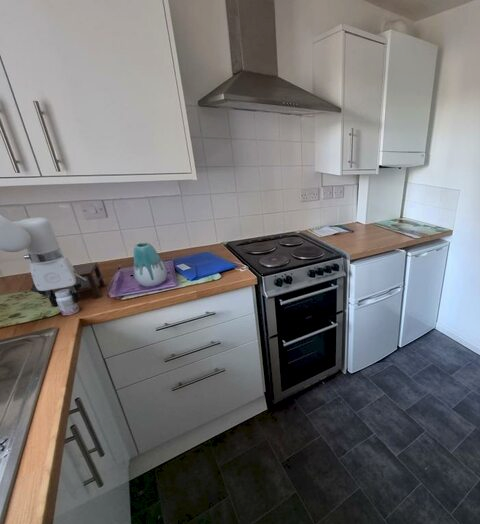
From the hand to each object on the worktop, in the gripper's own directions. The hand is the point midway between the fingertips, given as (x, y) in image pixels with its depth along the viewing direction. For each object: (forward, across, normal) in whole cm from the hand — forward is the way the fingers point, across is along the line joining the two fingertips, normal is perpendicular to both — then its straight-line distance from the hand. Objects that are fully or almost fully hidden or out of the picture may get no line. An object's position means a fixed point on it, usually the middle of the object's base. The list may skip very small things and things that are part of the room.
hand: (67, 302), depth 106 cm
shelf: (+4, 0, +14) cm, 15 cm away
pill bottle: (+4, 0, 0) cm, 4 cm away
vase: (+4, +25, +12) cm, 28 cm away
